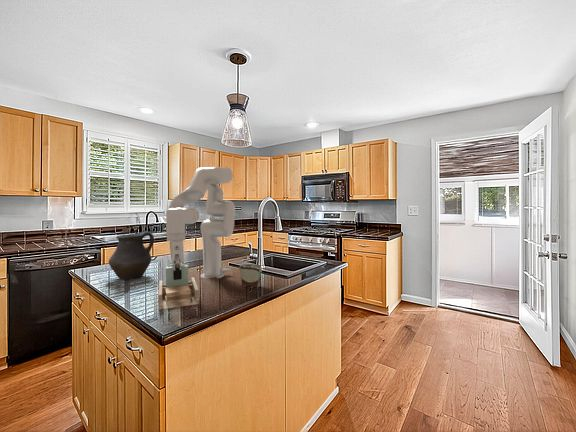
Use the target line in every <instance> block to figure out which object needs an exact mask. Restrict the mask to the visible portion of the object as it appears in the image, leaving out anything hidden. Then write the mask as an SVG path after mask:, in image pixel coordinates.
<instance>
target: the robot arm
mask: <svg viewBox="0 0 576 432" xmlns="http://www.w3.org/2000/svg"><path fill="white" fill-rule="evenodd" d="M233 176H234V174H233V171H232V169H231V168H229V167H226V166H225V167H219V166H210V167H209V166H208V167H207V166H205V167H204V166H203V167H199V168H197V169H196V170H195V172H194V174H193V176H192V179H191V180H190V183H189V185H188V187H187V188H186V189H185V190H183V191H181V192H180V193H179V194H177V195H176V196H175V197H174V198H172V200H171V201H170V204H169V205H168V207H167V210H166V212H165V217H166V218H165V221H166V223H165V224H166V225H165V226H166V242H169V250H170V251H169V252H170V260H171V264H172V266H174V270H173V278H174V280H180V279H182V270H181V266H182V265H185V253H184V252H185V251H184V250H185V249H184V241H186V225H193V224H195V223H197V222H198V221H199V220H200V213H199V210H198V209H197V208H196V207H195V208H194V207H189V206H188V207H185V206H187V205H189V204H191V203H193V202H196V201H198V200H201V199H203V198H204V197H205V194H206V193H207V196H206V207H205V214H206V216H207V217H209V218H208V219H206V220H203V221H202V222H201V223H200V232H201V239H202V264H203V265H202V266H203V269H202V270H203V273H201V274H200V279H210V278H216V279H218V280H219V279H221V278H223V277H225V273H230V272H231V269H230V268H223V267H222V245H221V242H220V240H219V238H229V237H231V236H232V235H233V233H234V226H235V216H236V206H235V204H234V202H233V200H230V199H229V200H227V199H225V200H224V190H223V189H222V188H221V186H220V185H222V184H223V185H224V184H229V183H231V182H232V180H233V178H234V177H233ZM211 218H212V219H211ZM213 218H214V219H213ZM215 218H216V219H215ZM217 218H223V219H217ZM181 264H182V265H181Z"/></svg>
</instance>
